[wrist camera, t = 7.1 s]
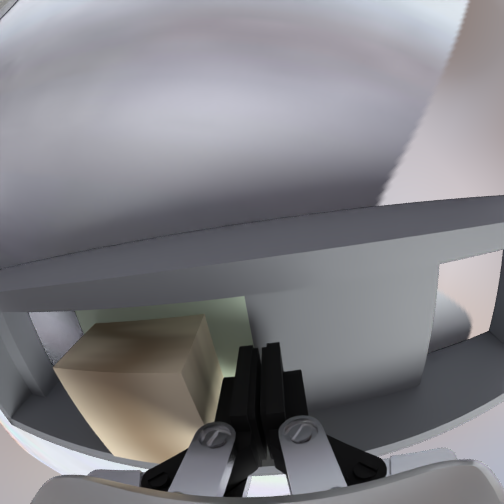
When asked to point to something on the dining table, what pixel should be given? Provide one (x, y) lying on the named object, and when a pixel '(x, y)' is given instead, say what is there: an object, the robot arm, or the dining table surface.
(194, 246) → the trap box
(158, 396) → the beech block
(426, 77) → the dining table surface
